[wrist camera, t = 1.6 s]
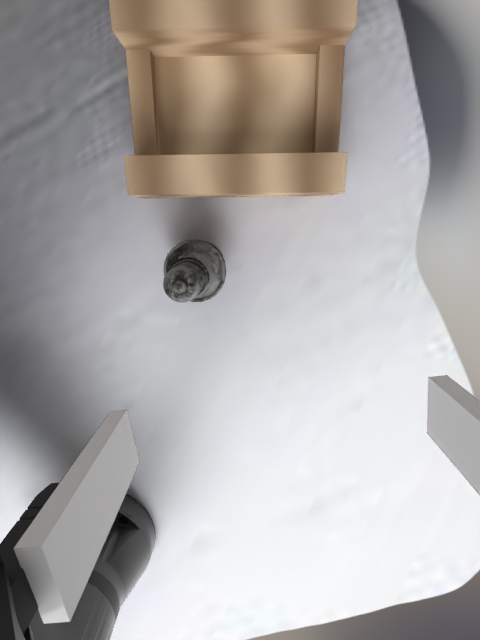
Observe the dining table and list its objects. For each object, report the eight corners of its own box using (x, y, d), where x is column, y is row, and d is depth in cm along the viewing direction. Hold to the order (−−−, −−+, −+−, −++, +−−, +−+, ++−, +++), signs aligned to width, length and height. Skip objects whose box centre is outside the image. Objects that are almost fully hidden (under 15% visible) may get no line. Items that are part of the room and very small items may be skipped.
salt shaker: (233, 288, 36) (227, 320, 25) (179, 299, 37) (149, 335, 25) (220, 232, 35) (207, 238, 23) (164, 244, 35) (125, 256, 24)
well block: (146, 198, 34) (127, 195, 29) (131, 22, 30) (107, -20, 25) (329, 196, 34) (344, 192, 28) (339, 17, 30) (359, -26, 24)
